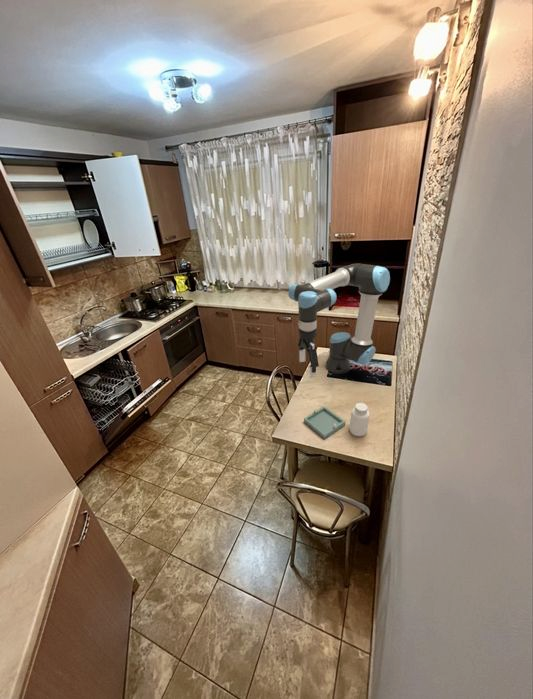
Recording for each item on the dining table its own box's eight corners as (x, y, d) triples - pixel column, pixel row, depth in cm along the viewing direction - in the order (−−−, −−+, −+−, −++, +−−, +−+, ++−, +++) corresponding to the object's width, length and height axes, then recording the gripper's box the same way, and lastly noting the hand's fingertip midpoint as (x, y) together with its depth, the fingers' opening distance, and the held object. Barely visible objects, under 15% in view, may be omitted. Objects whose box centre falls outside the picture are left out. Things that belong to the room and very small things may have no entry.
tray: (323, 409, 144) (324, 402, 142) (345, 425, 134) (346, 418, 131) (303, 422, 137) (303, 415, 135) (324, 439, 127) (325, 432, 125)
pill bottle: (356, 439, 126) (360, 414, 118) (345, 427, 132) (348, 403, 125) (370, 433, 128) (375, 409, 121) (359, 422, 135) (362, 398, 127)
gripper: (290, 318, 128) (291, 356, 139) (310, 343, 107) (309, 386, 118) (305, 315, 130) (305, 354, 140) (328, 339, 108) (326, 382, 119)
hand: (307, 369), depth 129 cm, fingers open, 13 cm apart
